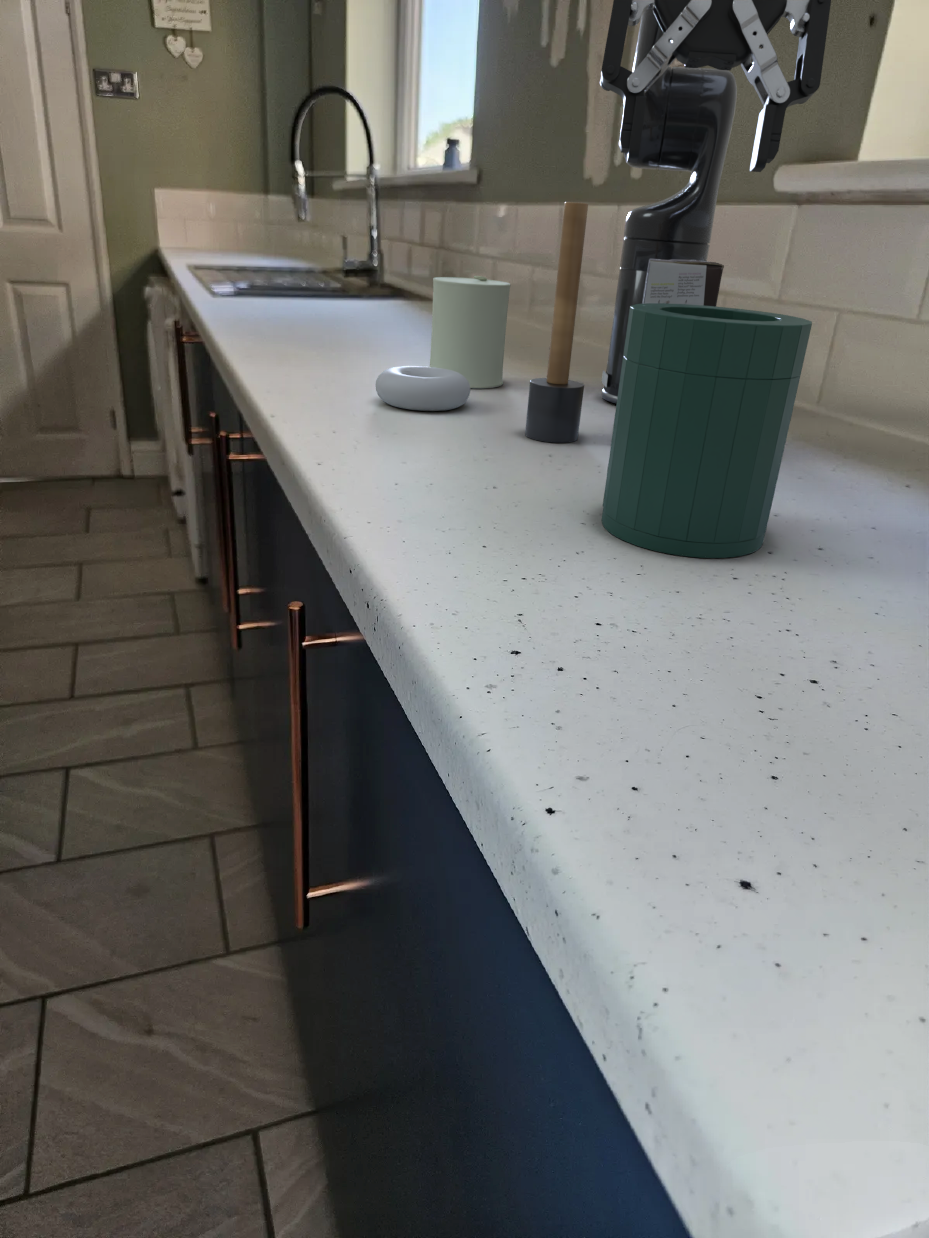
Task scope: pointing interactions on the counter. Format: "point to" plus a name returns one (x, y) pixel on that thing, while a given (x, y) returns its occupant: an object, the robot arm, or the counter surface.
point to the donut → (422, 388)
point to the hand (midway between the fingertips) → (694, 165)
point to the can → (470, 328)
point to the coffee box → (682, 282)
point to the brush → (561, 344)
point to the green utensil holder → (701, 427)
